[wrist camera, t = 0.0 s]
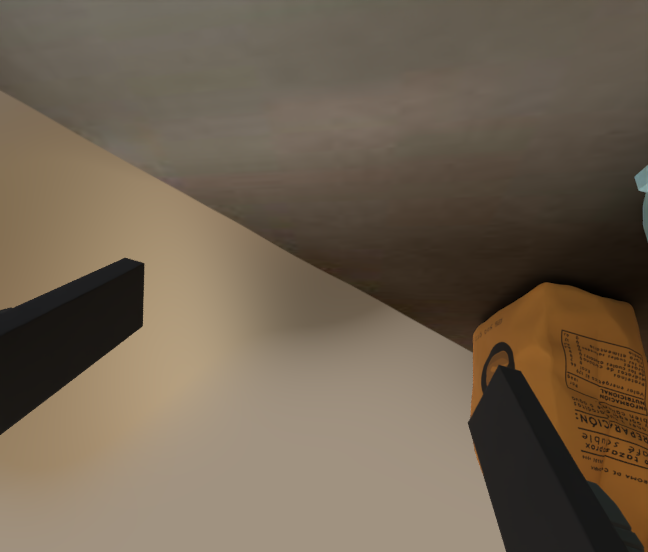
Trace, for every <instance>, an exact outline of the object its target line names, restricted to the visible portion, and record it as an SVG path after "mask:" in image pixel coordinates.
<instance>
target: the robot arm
mask: <svg viewBox="0 0 648 552" xmlns="http://www.w3.org/2000/svg"><path fill="white" fill-rule="evenodd" d="M143 291H144V263H142V262H138V261H134V260H131V259H128V258H124V259H121V260H119V261H117V262H115V263H112V264H110V265H108V266H106V267H104V268H101V269H99V270H97V271H94V272H92V273H90V274H88V275H86V276H83V277H81V278H79V279H77V280H74V281H72V282H70V283H68V284H66V285H63V286H61V287H59V288H57V289H54V290H52V291H50V292H48V293H45V294H43V295H41V296H39V297H37V298H34V299H32V300H30V301H28V302H25V303H23V304H21V305H19V306H16V307H15V308H7V309H3V310H0V435H1V434H2V433H4V432H5V431H6V430H7V429H9V428H10V427H11V426H13V425H14V424H15V423H17V422H18V421H19V420H21V419H22V418H23V417H24V416H26V415H27V414H28V413H30V412H31V411H32V410H34V409H35V408H36V407H37V406H39V405H40V404H41V403H43V402H44V401H45V400H47V399H48V398H49V397H51V396H52V395H53V394H55V393H56V392H57V391H59V390H60V389H61V388H62V387H64V386H65V385H66V384H68V383H69V382H70V381H72V380H73V379H74V378H76V377H77V376H78V375H79V374H81V373H82V372H83V371H85V370H86V369H87V368H89V367H90V366H91V365H92V364H94V363H95V362H96V361H98V360H99V359H100V358H102V357H103V356H104V355H106V354H107V353H108V352H110V351H111V350H112V349H114V348H115V347H116V346H117V345H119V344H120V343H121V342H123V341H124V340H125V339H127V338H128V337H129V336H130V335H132V334H133V333H134V332H136V331H137V330H138V329H140V328H141V327H142V326H143V296H144V292H143ZM468 425H469V429H470V432H471V435H472V439H473V442H474V445H475V449H476V452H477V456H478V459H479V462H480V466H481V469H482V472H483V476H484V479H485V482H486V486H487V489H488V492H489V496H490V499H491V502H492V505H493V509H494V512H495V516H496V519H497V522H498V526H499V529H500V532H501V535H502V539H503V542H504V546H505V549H506V552H645V551H644V546H643V545H642V543H641V542H640V540H639V539H638V537H637V535H636V534H635V533H634V532H632V531H631V529H632V528H631V526H630V525H629V523H628V521H627V520H626V518H625V517H624V515H623V514H622V512H621V511H620V509H619V507H618V506H617V505H616V503H615V502H614V501H613V500H612V499H611V498H610V497H609V496H608V495H607V494H606V493H605V492H604V491H603V490H602V489H601V488H600V486H599V485H598V484H597V483H594V482H590V481H587V480H586V479H585V477H584V476H583V474H582V472H581V471H580V469H579V467H578V466H577V464H576V462H575V461H574V459H573V457H572V456H571V454H570V452H569V451H568V449H567V447H566V446H565V444H564V442H563V441H562V439H561V437H560V436H559V434H558V432H557V431H556V429H555V427H554V426H553V424H552V422H551V421H550V419H549V417H548V416H547V414H546V412H545V411H544V409H543V407H542V406H541V404H540V402H539V401H538V399H537V397H536V396H535V394H534V392H533V390H532V389H531V387H530V385H529V384H528V382H527V380H526V379H525V377H524V375H523V374H522V372H521V371H519V370H516V369H512V368H509V367H505V366H502V365H498V367H497V369H496V371H495V373H494V374H493V376H492V378H491V380H490V382H489V384H488V386H487V388H486V390H485V392H484V393H483V395H482V397H481V399H480V401H479V403H478V405H477V407H476V409H475V411H474V412H473V414H472V416H471V418H470V420H469V422H468Z"/></svg>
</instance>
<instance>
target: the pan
mask: <svg viewBox="0 0 648 552" xmlns="http://www.w3.org/2000/svg"><path fill="white" fill-rule="evenodd" d="M635 181H636V184H637V187H638V190H639V191H642V192H646V194H645V199H644V203H643V228H644V231H645V234H646V238H647V241H648V165H647V166H646V167H645V168H644V169H643V170H641V171H640V172H639V173H638V174H637V175H636V176H635Z"/></svg>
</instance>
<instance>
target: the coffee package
mask: <svg viewBox="0 0 648 552" xmlns="http://www.w3.org/2000/svg"><path fill="white" fill-rule="evenodd" d="M498 365H502V366H505V367H509V368H512V369H516V370H519V371H521V372H522V374H523V375H524V377H525V379H526V380H527V382H528V384H529V385H530V387H531V389H532V390H533V392H534V394H535V396H536V397H537V399H538V401H539V402H540V404H541V406H542V407H543V409H544V411H545V412H546V414H547V416H548V417H549V419H550V421H551V422H552V424H553V426H554V427H555V429H556V431H557V432H558V434H559V436H560V437H561V439H562V441H563V442H564V444H565V446H566V447H567V449H568V451H569V452H570V454H571V456H572V457H573V459H574V461H575V462H576V464H577V466H578V467H579V469H580V471H581V472H582V474H583V476H584V477H585V479H586V480H587V481H590V482H594V483H597V484H598V485H599V486H600V488H601V489H602V490H603V491H604V492H605V493H606V494H607V495H608V496H609V497H610V498H611V499H612V500H613V501H614V502H615V503H616V505H617V506H618V507H619V509H620V511H621V512H622V514H623V515H624V517H625V518H626V520H627V521H628V523H629V525H630V526H631V528H632V529H631V531H632V532H634V533H635V534H636V535H637V537H638V539H639V540H640V542H641V543H642V545H643V546H644V551H645V552H648V363H647V360H646V356H645V353H644V349H643V346H642V341H641V337H640V332H639V326H638V323H637V320H636V316H635V313H634V309H633V307H632V306H631V305H630V304H629V303H627V302H624V301H617V300H614V299H610V298H604V297H600V296H597V295H594V294H591V293H588V292H586V291H584V290H581V289H579V288H576V287H573V286H570V285H560V284H553V283H548V282H545V283H542V284H540V285H538V286H537V287H535V288H534V289H533V290H531V291H530V292H528V293H527V294H526V295H524V296H523V297H521V298H519V299H517V300H516V301H515V302H513V303H511V304H510V305H508V306H506V307H505V308H503V309H501V310H499V311H498V312H497V313H495V314H494V315H493V316H491V317H490V318H489V319H488V320H487V321H485V322H484V323H482V324H480V325H479V326H478V328H477V329H476V331H475V332H474V334H473V390H472V401H471V415H470V416H472V414H473V412H474V411H475V409H476V407H477V405H478V403H479V401H480V399H481V397H482V395H483V393H484V392H485V390H486V388H487V386H488V384H489V382H490V380H491V378H492V376H493V374H494V373H495V371H496V369H497V367H498ZM470 418H471V417H470ZM473 444H474V442H473ZM474 450H475V453H476V456H477V452H476V449H475V445H474ZM477 460H478V462H479V459H478V456H477ZM479 465H480V462H479ZM480 468H481V466H480ZM481 470H482V469H481ZM482 473H483V472H482Z"/></svg>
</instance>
